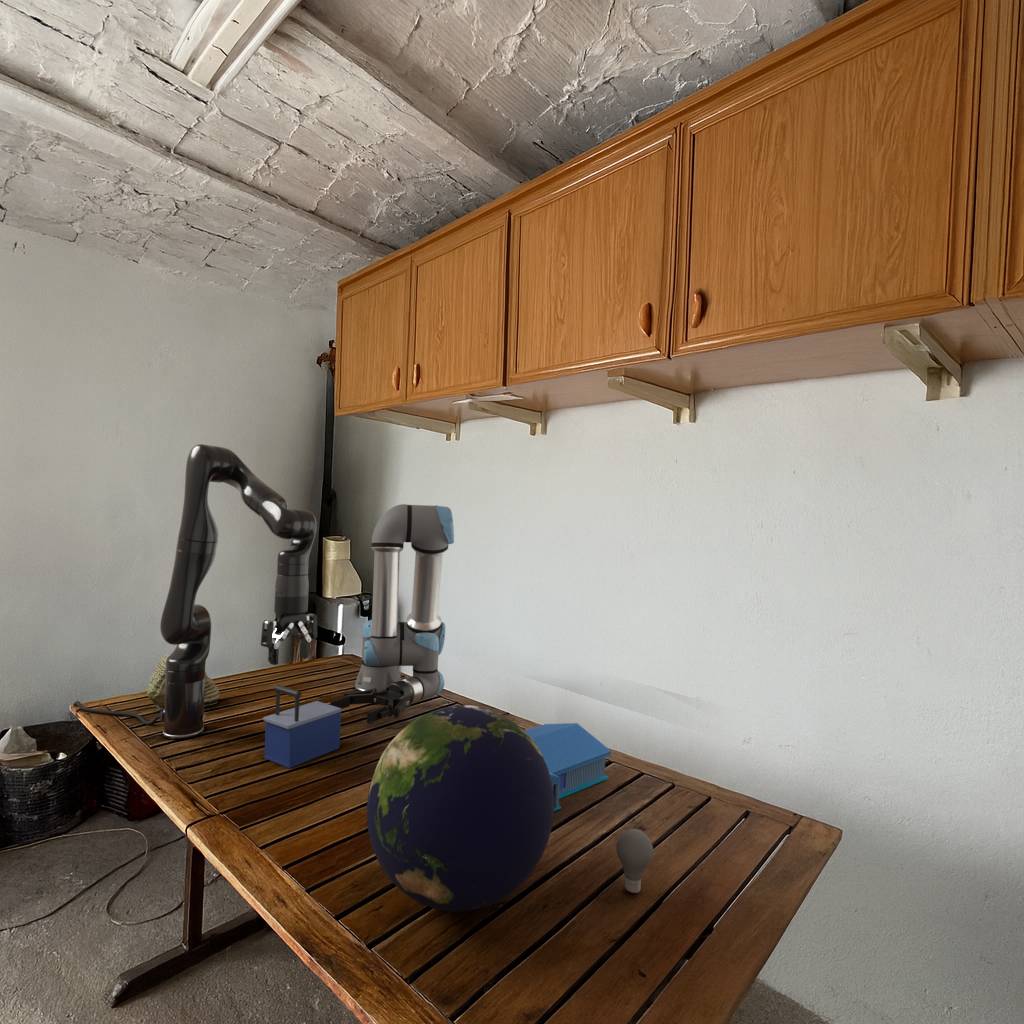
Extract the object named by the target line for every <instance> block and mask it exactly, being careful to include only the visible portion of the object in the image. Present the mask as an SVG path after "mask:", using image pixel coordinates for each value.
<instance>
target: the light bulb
mask: <svg viewBox="0 0 1024 1024" xmlns="http://www.w3.org/2000/svg"><path fill="white" fill-rule="evenodd" d="M615 849H616V854H617V857H618V859H619V861H620V863H621V865H622V867H623V873H624V874H623V875H624V876H625V878H624V888H625V890H627V891H628V892H630V893H634V894H635V893H639V892H640V891H641V889H642V887H641V886H642V879H643V877H644V875H645V871H646V868H647V867H648V866H649V864H650V863H651V861H652V859H653V855H654V847H653V843H652V841H651V838H649V836H648V835H647V834H646V833H645V832H643V831H642V830H641V829H636V828H629V829H627V830H625V831H623V832H622V833H621V834H620V835H619V837H618V839H617V841H616V847H615Z"/></svg>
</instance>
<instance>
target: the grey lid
mask: <svg viewBox="0 0 1024 1024" xmlns="http://www.w3.org/2000/svg"><path fill="white" fill-rule="evenodd" d="M273 689H274V690H273V691H275V713H272V714H270V715H266V716H263V717H262V719H263V722H265V723H266V722H269V723H272V724H275V725H278V726H280V727H283V728H286V729H291V728H294V727H296V726H299V725H302V724H305V723H308V722H311V721H314V720H317V719H320V718H323V717H326V716H329V715H332V714H335V713H338V712H341V713H342V709H341V708H338V707H335V706H332V705H330V703H329V704H328V703H326V702H322V701H318V700H315V701H312V702H309V703H305V704H302V705H300V698H301V697H302V692H301V691H300V690H297V689H293V688H290V687H287V686H283V685H280V684H276V685H275V686H274V688H273ZM281 694H283V695H287V696H290V697H293V698H294V707H292V708H288V709H285V710H282V711H280V709H281V707H280V706H281Z"/></svg>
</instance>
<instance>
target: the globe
mask: <svg viewBox="0 0 1024 1024" xmlns="http://www.w3.org/2000/svg"><path fill="white" fill-rule="evenodd" d="M524 730H525V729H523V728H522V727H521V726H520V725H518V723H516V722H514V721H513V720H512V719H510V718H508V717H507V716H505V715H503V714H501V713H499V712H497V711H494V710H493V709H489V708H485V707H482V706H477V705H469V704H468V705H467V704H465V705H452V706H446V707H442V708H438V709H435V710H432V711H429V712H428V713H425V714H423V715H422V716H419V717H417V718H416V719H415V720H413V721H411V722H409V724H407V725H406V726H405V727H404V728H402V729H401V731H399V733H398V734H396V736H395V737H394V738H393V739H392V740H391V741H390V742H389V743H388V745H387V747H385V749H384V751H382V754H381V755H380V758H379V760H378V762H377V763H376V766H375V769H374V771H373V774H372V777H371V780H370V783H369V787H368V788H369V789H368V794H367V801H366V822H367V832H368V836H369V840H370V844H371V847H372V851H373V853H374V855H375V857H376V859H377V861H378V864H379V865H380V867H381V869H382V870H383V872H384V873H385V875H386V876H387V877H388V878H389V880H390V881H391V883H393V884H394V885H395V886H396V887H397V888H398V890H400V891H401V892H402V893H404V894H405V895H406V896H408V897H409V898H410V899H412V900H413V901H415V902H417V903H419V904H421V905H424V906H426V907H428V908H429V907H430V908H431V909H436V910H439V911H445V912H455V913H456V912H471V911H475V910H479V909H483V908H486V907H489V906H491V905H494V904H496V903H499V902H500V901H502V900H503V899H505V898H506V897H508V896H509V895H511V894H512V893H514V892H515V891H516V890H517V889H518V888H519V887H520V886H522V885H523V884H524V882H526V880H527V879H528V878H529V877H530V875H532V873H533V871H534V870H535V869H536V867H537V866H538V864H539V863H540V860H541V859H542V857H543V855H544V853H545V850H546V848H547V846H548V843H549V841H550V837H551V833H552V827H553V823H554V814H555V811H554V794H553V786H552V782H551V777H550V774H549V770H548V767H547V765H546V763H545V760H544V757H543V755H542V753H541V752H540V750H539V748H538V747H537V745H536V744H535V742H534V741H533V740H532V739H531V737H530V736H529V735H528V734H527V733H526V732H525V731H524Z"/></svg>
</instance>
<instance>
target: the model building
mask: <svg viewBox="0 0 1024 1024" xmlns="http://www.w3.org/2000/svg"><path fill="white" fill-rule="evenodd" d="M523 730H524V731H525V732H526V733H527V734H528V735H529V736H530V737H531V739H532V740H533V741H534V742H535V744H536V745H537V747H538V748H539V750H540V752H541V753H542V755H543V757H544V760H545V763H546V765H547V767H548V770H549V774H550V777H551V782H552V786H553V794H554V812H556V811H559V810H561V809H562V806H561V805H560V799H563V798H565V797H567V796H570V795H572V794H575V793H578V792H580V791H583V790H584V789H587V788H589V787H591V786H594V785H596V784H599V783H601V782H603V781H606V780H609V776H608V775H606V758H607V757H610V756H612V750H611V749H609V748H608V747H607V746H606V745H605V744H603V742H601V741H600V740H598V739H597V738H596V737H595V736H594V735H592V734H591V733H590V732H589V731H588V730H586V729H585V728H584V727H583V726H581V725H580V724H579V723H578V722H572V723H571V722H568V723H564V722H563V723H544V724H540V725H537V726H533V727H531V728H527V729H523Z"/></svg>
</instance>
